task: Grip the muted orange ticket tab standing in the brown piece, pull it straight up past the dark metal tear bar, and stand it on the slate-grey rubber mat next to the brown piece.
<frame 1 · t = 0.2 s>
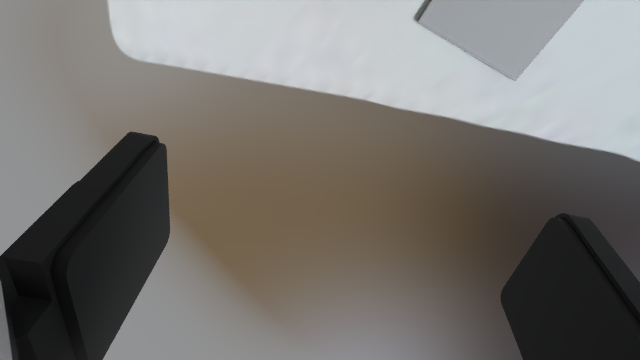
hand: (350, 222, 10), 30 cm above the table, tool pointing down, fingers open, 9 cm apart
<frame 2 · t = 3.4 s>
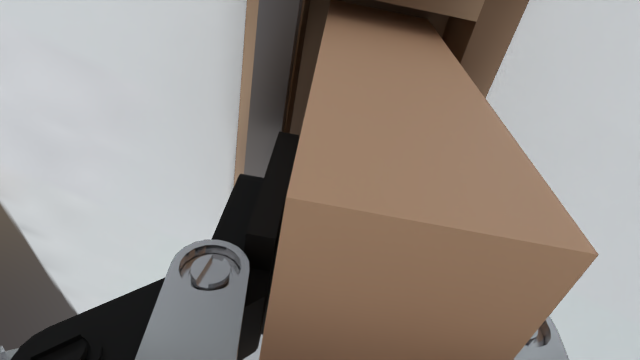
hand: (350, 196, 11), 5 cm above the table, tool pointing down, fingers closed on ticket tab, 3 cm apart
brown piece: (350, 114, 15), on the table
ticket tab: (350, 126, 14), point 1 cm above the table, touching gripper, brown piece
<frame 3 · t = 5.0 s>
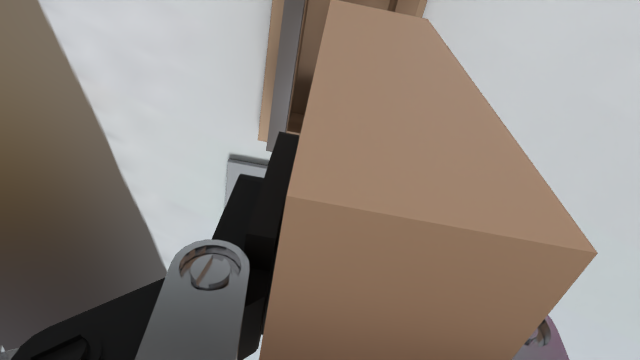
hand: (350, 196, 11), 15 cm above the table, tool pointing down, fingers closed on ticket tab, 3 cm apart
brown piece: (340, 40, 23), on the table
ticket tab: (350, 126, 14), point 11 cm above the table, touching gripper
rubber mat: (313, 232, 32), on the table
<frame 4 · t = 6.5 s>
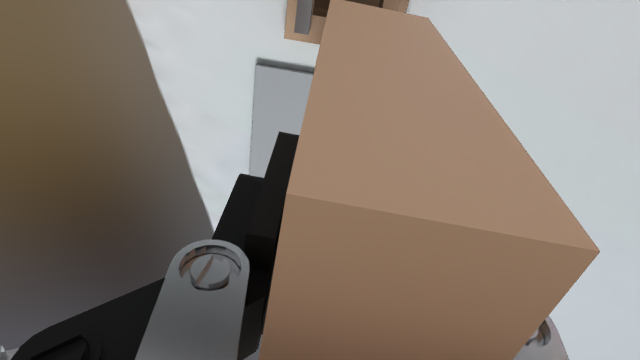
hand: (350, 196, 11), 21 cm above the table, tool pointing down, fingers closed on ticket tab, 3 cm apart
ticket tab: (350, 125, 14), point 17 cm above the table, touching gripper
rubber mat: (334, 140, 34), on the table
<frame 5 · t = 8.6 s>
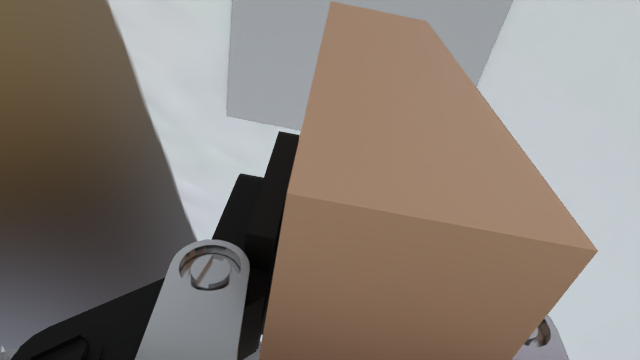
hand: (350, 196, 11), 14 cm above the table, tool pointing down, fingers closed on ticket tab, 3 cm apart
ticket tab: (349, 128, 14), point 10 cm above the table, touching gripper
rubber mat: (357, 49, 22), on the table
when the fingers open (6 cm above the table, at t = 10.2 s): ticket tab drops 1 cm, resting on rubber mat.
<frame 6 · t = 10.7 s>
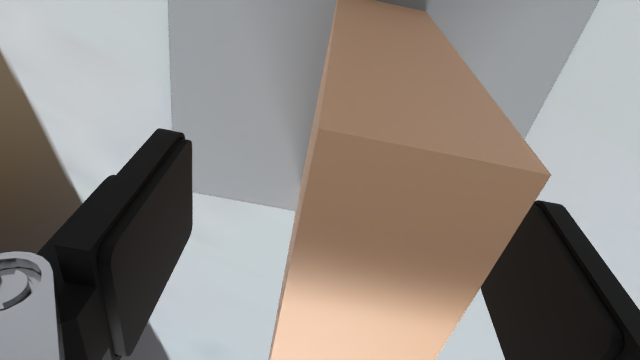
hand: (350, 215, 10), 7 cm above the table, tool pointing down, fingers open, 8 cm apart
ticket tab: (354, 110, 15), resting on rubber mat
rubber mat: (350, 105, 16), on the table
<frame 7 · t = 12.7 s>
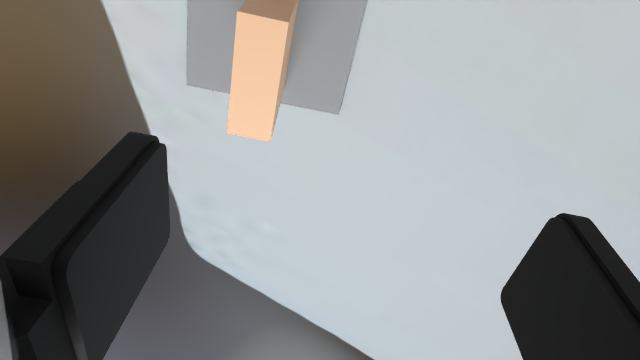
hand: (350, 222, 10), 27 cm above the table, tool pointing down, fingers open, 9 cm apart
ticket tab: (273, 40, 33), resting on rubber mat
rubber mat: (272, 38, 34), on the table
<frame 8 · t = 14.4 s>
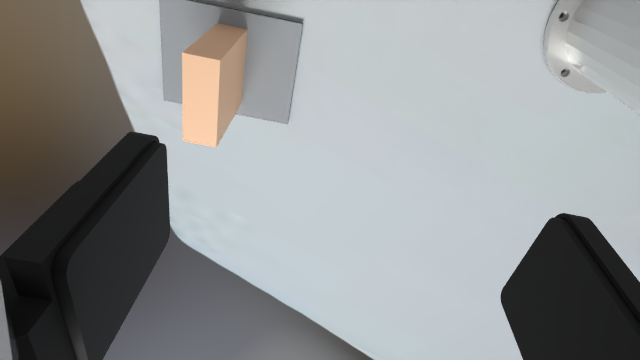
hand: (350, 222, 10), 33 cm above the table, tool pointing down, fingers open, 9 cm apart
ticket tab: (230, 65, 42), resting on rubber mat
rubber mat: (229, 63, 42), on the table
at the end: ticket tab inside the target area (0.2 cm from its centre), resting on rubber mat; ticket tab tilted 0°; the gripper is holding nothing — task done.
